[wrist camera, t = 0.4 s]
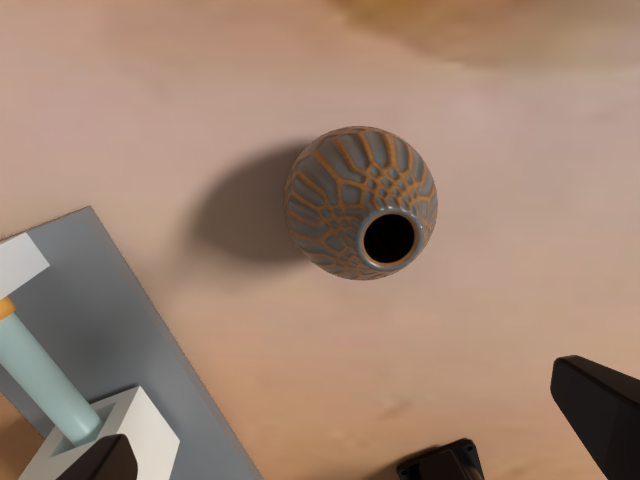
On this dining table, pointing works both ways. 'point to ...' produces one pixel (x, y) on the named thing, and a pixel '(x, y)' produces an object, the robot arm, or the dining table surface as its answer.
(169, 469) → the white square tube
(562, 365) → the robot arm
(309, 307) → the dining table surface
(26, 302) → the linear slide rail
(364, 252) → the vase
